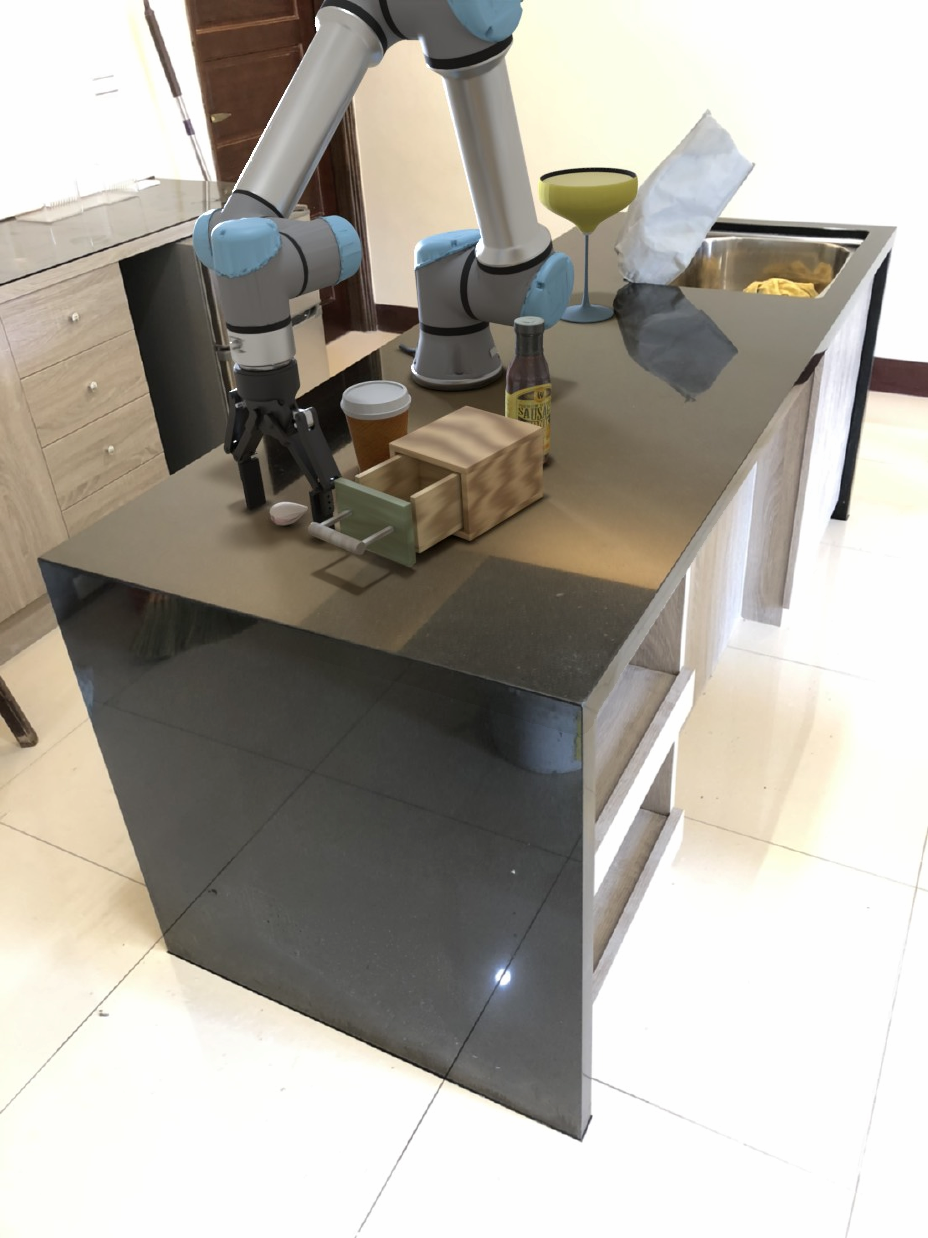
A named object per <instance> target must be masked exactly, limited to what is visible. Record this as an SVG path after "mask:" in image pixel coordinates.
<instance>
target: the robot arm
mask: <svg viewBox="0 0 928 1238" xmlns="http://www.w3.org/2000/svg"><path fill="white" fill-rule="evenodd" d="M523 2H524V0H323V2H322V3H321V5H320V7H319V9H318V11H317V13H316V15H315V19H314V20H315V22H314V23H315V24H314V25H315V27H316V33H315V34H314V37H313V39H312V40H311V42H310V44H309V46H308V48H307V50H306V52H305V54H304V56H303V57H302V59H301V62H300V63H299V65H298V67H297V68H296V70H295V72H294V74H293V76H292V79H290V82H289V84H288V86H287V88H286V89H285V91H284V94H283V96H282V97H281V99H280V101H279V103H278V105H277V107H276V108H275V110H274V112H273V114H272V115H271V118H270V120H269V121H268V123H267V126H266V128H265V129H264V131H263V133H262V134H261V137H260V138H259V141H258V143H257V144H256V146H255V148H254V150H253V151H252V154H251V156H250V158H249V160H248V161H247V163H246V165H245V167H244V169H243V170H242V173H241V174H240V176H239V178H238V180H237V182H236V184H235V186H234V188H233V190H232V192H231V194H230V196H229V197H228V199H227V201H226V203H225V204H224V207H223V208H215V209H210V210H207V211H205V212H204V213H202V214H201V215H200V216H199V217H198V218H197V220H196V222H195V223H194V226H193V229H192V230H193V231H192V247H193V249H194V250H193V251H194V253H195V255H196V256H197V259H198V260H199V261H200V262H201V263H202V265H203V266H205V267H206V268H208V269H210V270H212V271H214V272H215V277H216V282H217V288H218V293H219V298H220V302H221V309H222V313H223V318H224V323H225V328H226V332H227V339H228V343H229V344H228V345H229V351H230V356H231V361H232V362H234V365H233V368H232V369H233V376H234V382H235V386H236V388H235V389H233V390H231V391H229V392H228V403H229V404H228V405H229V410H228V417H227V422H226V428H225V436H224V441H223V451H224V453H225V454H226V455H230V454H231V455H232V458H233V460H234V462H236V463H237V468H238V472H239V473H238V474H239V479H240V481H241V483H242V490H243V495H244V500H245V505H246V509H247V510H249V511H253V510H255V509H257V508H259V507H261V506H263V505H265V504H267V498H266V492H265V487H264V486H265V485H264V481H263V475H262V469H261V468H262V467H261V462H260V458H259V457H257V456H256V455H257V454H258V452H257V449H258V447H259V445H260V443H261V441H262V440H263V437H264V436H271V437H272V438H274V439H275V440H278V441H279V443H280V445H281V446H282V447H285V448H287V449H288V451H289V453H290V454H291V456H292V457H293V459H294V460H295V462H296V464H297V465H298V467H299V469H300V470H301V472H302V474H303V475H304V477H305V479H306V480H307V482H308V484H309V485H310V487H311V490H309V491H308V497H309V504H310V510H311V517H312V523H313V522H316V523H319V524H321V523H322V522H324V521H326V520H328V519H330V518H332V517H334V516H335V515H334V512H335V505H334V504H335V503H334V494H333V491H334V490H335V485H334V480H336V479H338V478H340V477H342V478H343V476H342V474H341V471H340V469H339V466H338V465H337V461H336V460H335V457H334V456H333V454H332V451H331V449H330V447H329V443H328V442H327V439H326V437H325V435H324V433H323V431H322V428H321V426H320V422H319V416H318V412H317V410H316V408H315V407H313V406H311V407H308V408H306V409H304V408H303V409H302V408H300V407H299V405H298V403H297V401H296V397H297V394H298V392H299V390H300V388H301V380H300V373H299V366H298V360H297V359H296V358H295V356H296V355H297V348H296V342H295V341H296V340H295V335H294V329H293V328H294V327H293V322H292V316H291V315H292V314H291V307H290V306H291V305H290V300H293V299H296V298H298V297H301V296H304V295H306V294H310V293H314V292H315V291H319V290H322V289H324V288H327V287H330V286H336V285H339V283H340V282H342V281H345V280H347V279H349V278H351V277H353V276H354V275H355V274H356V273H357V272H358V270H359V269H360V266H361V264H362V259H363V253H362V251H363V248H362V242H361V239H360V235H359V234H358V232H357V231H356V229H355V227H354V226H353V225H352V223H350V222H349V221H348V220H347V219H345V218H344V217H341V216H340V215H328V216H317V218H315V219H313V220H312V219H311V220H299V219H291V216H292V215H293V213H294V210H295V209H296V207H297V206H298V203H299V200H300V199H301V198H302V195H303V193H304V192H305V190H306V188H307V186H308V184H309V182H310V180H311V178H312V176H313V174H314V172H315V170H316V168H317V167H318V165H319V163H320V161H321V160H322V157H323V155H324V154H325V151H326V150H327V147H328V146H329V144H330V142H331V141H332V139H333V136H334V134H335V132H336V130H337V129H338V126H339V125H340V123H341V121H342V119H343V117H344V116H345V114H346V112H347V109H348V108H349V106H350V104H351V102H352V100H353V98H354V96H355V94H356V92H357V90H359V89H358V88H359V86H360V85H361V83H362V80H363V79H364V77H365V75H366V73H367V71H368V70H369V69H371V68H376V67H377V66H378V65H380V63H381V62H382V60H383V59H384V57H385V54H386V53H387V51H388V50H389V49H390V48H391V47H393V46H394V45H395V44H397V43H399V42H402V41H419V42H420V44H421V48H422V52H423V56H424V60H425V63H426V67H427V68H428V69H429V70H430V71H432V72H434V73H435V74H438V75H439V76H441V81H442V84H443V89H444V91H445V96H446V100H447V105H448V107H449V112H450V117H451V121H452V123H453V128H454V132H455V136H456V141H457V145H458V150H459V153H460V156H461V157H460V158H461V162H462V165H463V169H464V174H465V178H466V182H467V185H468V190H469V193H470V198H471V201H472V206H473V210H474V213H475V219H476V222H477V226H478V228H465V229H457V230H450V231H445V232H440V233H437V234H432V235H429V236H426V237H425V238H422V239H421V240H419V241H418V242H417V243H416V245H415V248H414V266H413V271H414V276H415V277H414V279H415V287H416V300H417V311H418V323H419V335H418V341H417V345H416V348H415V347H414V348H413V347H410V346H407V345H405V344H403V343H400V344H399V345H398V348H399V350H401V351H403V352H406V353H408V354H413V355H414V359H413V361H412V364H411V373H412V380H413V381H414V382H415V383H416V384H417V385H419V386H421V387H423V388H425V389H426V388H427V389H430V390H436V391H451V392H452V391H454V392H455V391H466V390H467V391H468V390H472V389H478V388H483V387H485V386H488V385H490V384H493V383H495V382H496V381H498V380H499V379H500V378H501V377H502V375H503V361H502V359H501V356H500V354H499V353H498V352H499V351H498V348H497V345H496V344H495V340H494V337H493V334H492V331H491V327H490V324H491V323H492V324H495V325H500V326H507V327H513V328H514V321H515V319H517V318H520V317H527V316H532V317H540V318H542V319H544V321H545V331H547V330H549V329H551V328H553V327H554V326H555V325H557V323H558V322H559V321H560V320H561V317H562V315H563V314H564V312H565V310H566V308H567V307H569V303H570V300H571V298H572V294H573V290H574V284H575V268H574V267H575V266H574V263H573V261H572V259H571V257H570V256H569V255H567V254H566V253H564V252H562V251H556V250H555V249H554V245H553V239H552V234H551V232H550V230H549V228H548V227H546V226H545V225H543V224H542V223H539V222H538V221H539V220H538V217H537V211H536V206H535V201H534V195H533V191H532V186H531V182H530V176H529V171H528V166H527V162H526V156H525V152H524V146H523V142H522V135H521V131H520V125H519V121H518V116H517V112H516V111H517V110H516V107H515V101H514V96H513V91H512V86H511V81H510V76H509V71H508V66H507V61H506V56H507V54H508V53H509V51H510V49H511V47H512V46H513V44H514V35H513V33H515V31H516V30H517V28H518V26H519V24H520V21H521V20H522V15H523V10H524V9H523V7H522V5H521V4H522V3H523ZM294 431H295V433H293V432H294ZM253 456H254V457H253ZM335 524H336V523H335ZM335 524H333V525H331V526H329V527H328V528H331V529H333V530H336V525H335ZM314 538H315V539H316V540H319V541H321V539H319V538H317V537H314Z"/></svg>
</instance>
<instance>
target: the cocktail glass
mask: <svg viewBox="0 0 928 1238" xmlns="http://www.w3.org/2000/svg"><path fill="white" fill-rule="evenodd" d="M638 188H639V179H638V175H637V173H636V172H634V171H632V170H628V169H624V168H617V167H601V166H600V167H597V166H595V167H594V166H593V167H592V166H591V167H589V166H588V167H574V168H566V169H560V170H555V171H554V170H553V171H549V172H547V173H544V174H542V175H540V177H539V178H538V183H537V196H538V200H539V201H540V203H541V204H542V206H544V207H545V208H546V209H547V210H548V211H550V212H551V213H553V214H555V215H557V216H558V217H561V218H563V219H565V220H567V221H569V222H570V223H572V224H574V226H575V227H576V228H577V230H578V231H579V232H580V234H582V235H583V236H584V278H583V279H584V281H583V294H582V295H583V296H582V301H581V304H574V305H568V306H567V308H566V310H565V312H564V314H563V315H562V317H561V318H560V320H563V321H566V322H568V323H575V324H577V323H579V324H591V323H599V322H603V321H606V320H608V319H611V318H612V317H613V316H614V310H613V309H612V308H610V307H608V306H605V305H600V304H591V303H590V296H589V237H590V236H591V235H593V233H594V232H595V231H596V229H597V227H598V226H599V225H600V224H602V222H604V221H605V220H608V219H609V218H611V217H613V216H614V215H616V214H618V213H620V212H621V211H623V210H625V209H626V208H627V207H629V206H630V205H631V204H632V203H633V202H634V200H635V199H636V198H637V194H638V190H639V189H638Z"/></svg>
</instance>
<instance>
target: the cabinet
mask: <svg viewBox="0 0 928 1238" xmlns="http://www.w3.org/2000/svg"><path fill="white" fill-rule="evenodd" d="M389 449H390V458H392V457H394V456H396V455H398V454H400V453H401V454H404V455H407V456H410V457H413V458H416V459H419V460H422V461H425V462H428V463H431V464H434V465H437V466H440V467H443V468H446V469H449V470H452V471H455V472H458V473H461V484H462V501H463V518H464V527H463V528H461V529H459V530H458V531H456V532H454V533H453V534H452V536H454V537H455V536H456V537H459V538H460V539H462V540H466V541H468V542H471V541H473V540H474V539H476V538H477V537H479V536H480V535H483V534H484V533H486V532H487V531H489V530H490V529H492V528H494V527H496V526H497V525H500V524H501V523H502V522H504V521H505V520H507V519H509V518H510V517H512V516H514V515H515V514H517V513H518V512H520V511H521V510H523V509H525V508H526V507H528V506H530V505H532V504H533V503H535V502H536V501H538V500H539V499H541V498H543V497H544V467H543V466H544V464H543V443H542V427H540V426H537V425H533V424H530V423H526V422H522V421H519V420H515V419H512V418H508V417H505V416H504V415H501V414H498V413H493V412H490V411H487V410H483V409H479V408H476V407H472V406H468V405H464V406H462V407H461V408H459V409H456V410H454V411H452V412H450V413H448V414H447V415H443V416H442V417H440V418H438V419H436V420H434V421H432V422H430V423H427V424H426V425H423V426H421V427H419V428H417V429H416V430H413V431H410V432H409V433H407V435H405V436H403V437H401V438H399V439H397V440H395V441H393V442H391V443H389Z"/></svg>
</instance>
